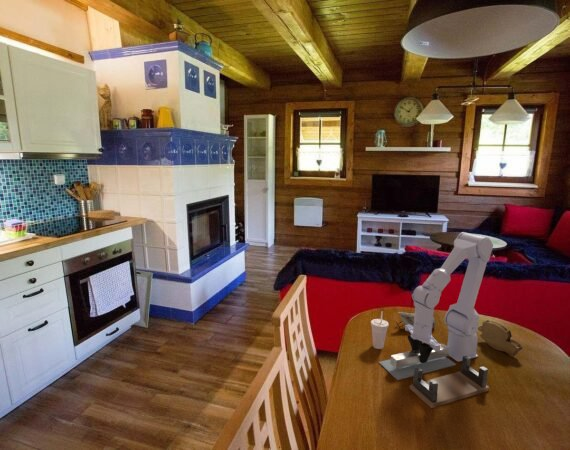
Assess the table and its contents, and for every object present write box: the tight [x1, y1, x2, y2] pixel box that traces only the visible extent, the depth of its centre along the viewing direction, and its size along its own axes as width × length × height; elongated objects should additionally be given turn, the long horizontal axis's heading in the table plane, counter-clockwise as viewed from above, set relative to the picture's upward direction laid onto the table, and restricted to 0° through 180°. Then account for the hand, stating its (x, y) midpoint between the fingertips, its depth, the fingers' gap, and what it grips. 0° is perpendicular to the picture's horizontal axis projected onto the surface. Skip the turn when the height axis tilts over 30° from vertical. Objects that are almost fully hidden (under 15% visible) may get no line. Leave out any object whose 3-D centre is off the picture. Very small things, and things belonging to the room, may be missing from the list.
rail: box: [390, 343, 450, 369], centre depth 117 cm, size 22×3×3 cm, turn 110°
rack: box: [409, 356, 490, 409], centre depth 105 cm, size 22×9×7 cm, turn 110°
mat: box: [378, 356, 457, 381], centre depth 119 cm, size 24×10×1 cm, turn 110°
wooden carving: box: [477, 319, 523, 357], centre depth 128 cm, size 16×5×10 cm, turn 26°
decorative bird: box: [395, 311, 437, 331], centre depth 143 cm, size 5×16×8 cm, turn 91°
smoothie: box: [370, 311, 390, 350], centre depth 128 cm, size 6×6×14 cm
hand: (419, 359), depth 117 cm, fingers closed on rail, 3 cm apart
